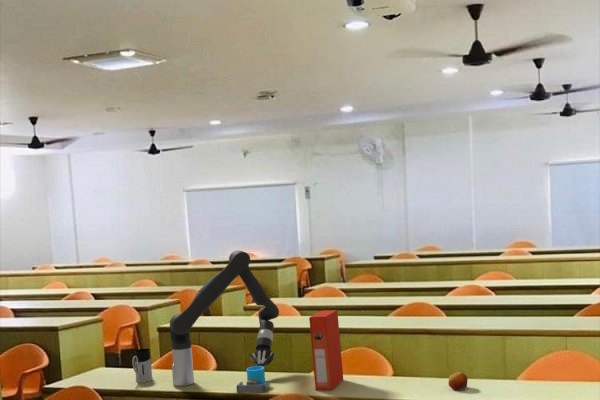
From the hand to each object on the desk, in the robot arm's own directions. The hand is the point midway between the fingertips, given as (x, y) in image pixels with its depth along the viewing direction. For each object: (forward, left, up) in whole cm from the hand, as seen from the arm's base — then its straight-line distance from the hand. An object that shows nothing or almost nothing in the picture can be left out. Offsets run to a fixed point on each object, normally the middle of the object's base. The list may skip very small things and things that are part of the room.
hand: (260, 372), depth 306 cm
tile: (0, -14, -4) cm, 14 cm away
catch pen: (0, -14, -4) cm, 15 cm away
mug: (0, -6, -5) cm, 7 cm away
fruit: (+90, -18, -5) cm, 92 cm away
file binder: (+34, -8, -5) cm, 35 cm away
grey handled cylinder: (-63, +6, -5) cm, 63 cm away
